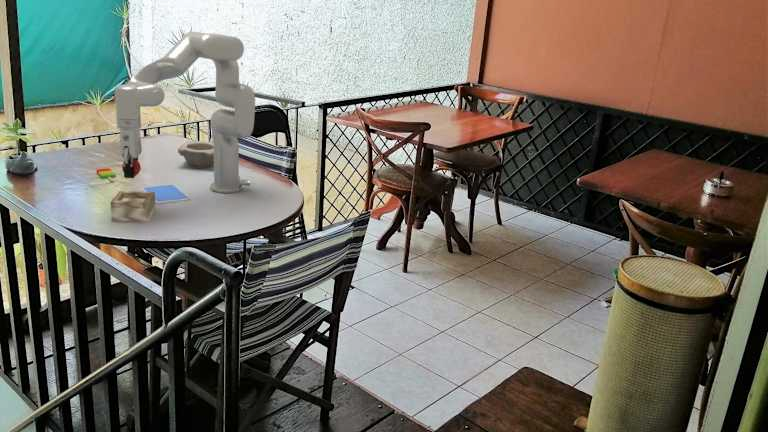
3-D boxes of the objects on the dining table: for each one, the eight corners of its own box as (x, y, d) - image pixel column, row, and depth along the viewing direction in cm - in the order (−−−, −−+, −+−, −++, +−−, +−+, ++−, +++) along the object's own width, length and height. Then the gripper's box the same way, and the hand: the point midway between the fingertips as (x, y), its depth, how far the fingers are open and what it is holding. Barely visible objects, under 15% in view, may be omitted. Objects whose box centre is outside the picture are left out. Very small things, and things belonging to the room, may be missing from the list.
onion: (135, 181, 230) (133, 158, 228) (119, 179, 231) (118, 156, 229) (144, 177, 236) (143, 154, 233) (128, 175, 237) (127, 152, 234)
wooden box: (155, 210, 245) (154, 192, 242) (148, 222, 233) (147, 203, 231) (120, 209, 243) (119, 190, 241) (111, 221, 232) (110, 202, 230)
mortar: (212, 173, 291) (212, 152, 288) (174, 168, 293) (173, 147, 290) (226, 163, 307) (226, 143, 304) (190, 158, 308) (189, 139, 305)
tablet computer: (141, 190, 265) (141, 187, 264) (173, 186, 272) (173, 183, 271) (156, 205, 250) (156, 202, 250) (190, 201, 257) (190, 198, 257)
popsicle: (110, 172, 283) (109, 167, 283) (119, 182, 272) (119, 177, 271) (96, 173, 280) (95, 169, 280) (105, 184, 269) (104, 179, 268)
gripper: (134, 129, 220) (137, 182, 226) (146, 117, 236) (148, 168, 242) (110, 128, 219) (113, 182, 225) (123, 116, 235) (126, 167, 241)
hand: (131, 174), depth 233 cm, fingers closed on onion, 5 cm apart
